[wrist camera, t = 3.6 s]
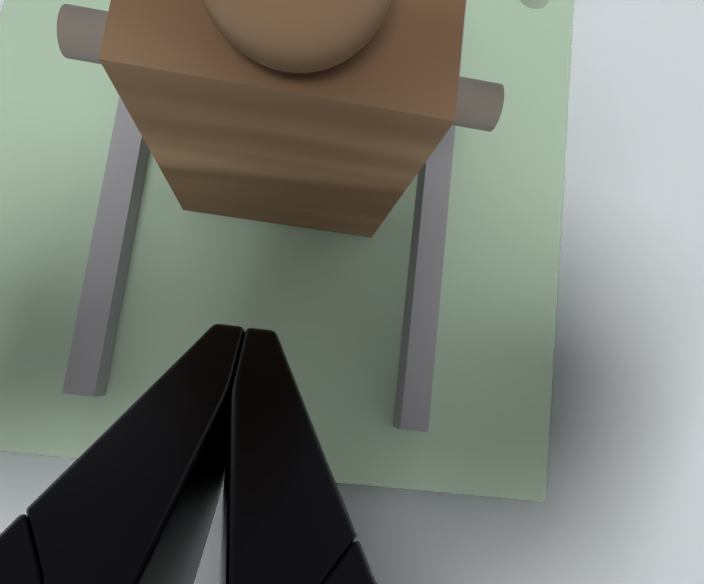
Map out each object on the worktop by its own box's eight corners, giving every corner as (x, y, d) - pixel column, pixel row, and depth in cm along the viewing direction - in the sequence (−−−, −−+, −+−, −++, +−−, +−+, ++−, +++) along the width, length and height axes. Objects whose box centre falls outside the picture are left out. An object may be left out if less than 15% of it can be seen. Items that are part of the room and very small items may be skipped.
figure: (409, 249, 17) (624, 52, 7) (139, 210, 16) (-110, -91, 6) (419, 142, 18) (633, -198, 7) (159, 97, 17) (-33, -367, 6)
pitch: (536, 497, 17) (562, 510, 16) (-86, 439, 15) (-127, 446, 14) (574, -149, 21) (598, -191, 20) (78, -268, 19) (60, -326, 17)
